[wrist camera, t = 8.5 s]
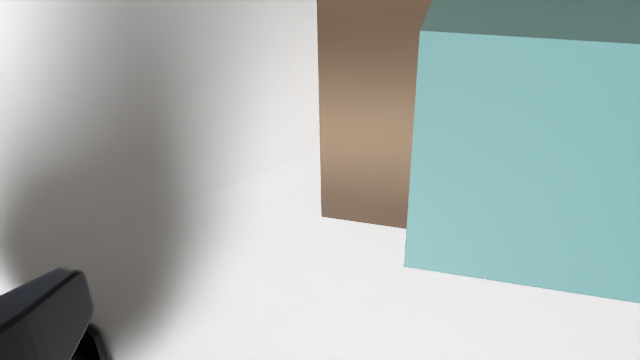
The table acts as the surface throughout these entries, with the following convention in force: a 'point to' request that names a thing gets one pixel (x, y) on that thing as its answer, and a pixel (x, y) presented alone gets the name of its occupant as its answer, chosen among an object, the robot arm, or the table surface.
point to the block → (529, 144)
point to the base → (367, 106)
